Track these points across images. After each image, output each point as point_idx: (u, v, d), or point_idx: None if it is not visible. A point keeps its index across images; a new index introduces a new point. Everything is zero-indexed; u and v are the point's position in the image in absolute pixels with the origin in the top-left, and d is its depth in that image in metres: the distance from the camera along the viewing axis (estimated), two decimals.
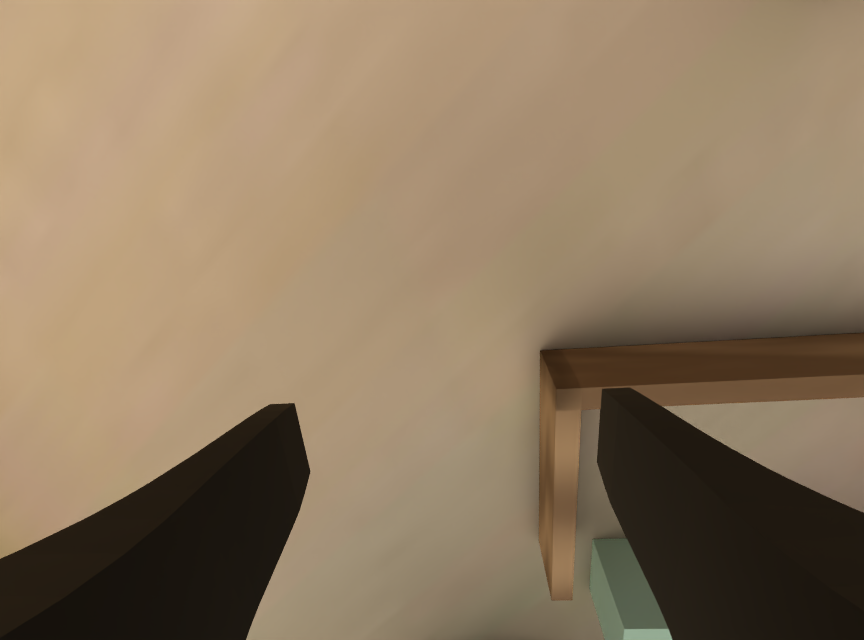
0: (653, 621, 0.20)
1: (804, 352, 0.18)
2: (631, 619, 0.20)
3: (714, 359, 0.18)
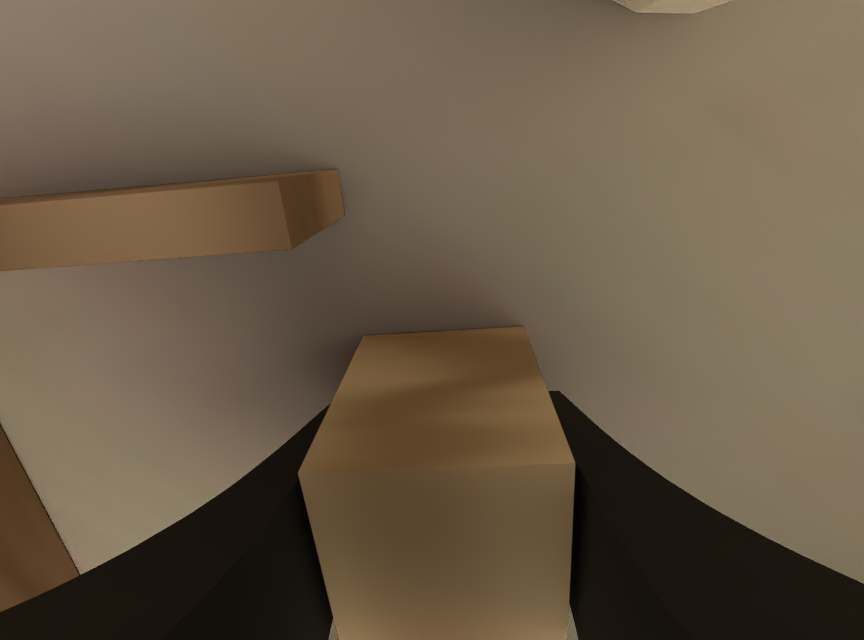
0: None
1: None
2: None
3: None
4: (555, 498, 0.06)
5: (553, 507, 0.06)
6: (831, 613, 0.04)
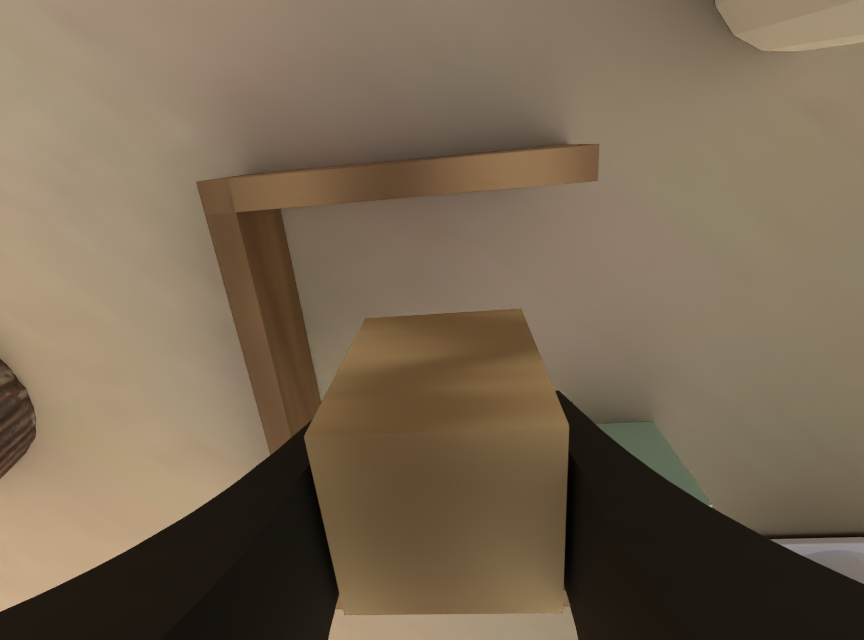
0: None
1: None
2: None
3: None
4: (550, 460, 0.07)
5: (549, 470, 0.07)
6: (831, 612, 0.04)
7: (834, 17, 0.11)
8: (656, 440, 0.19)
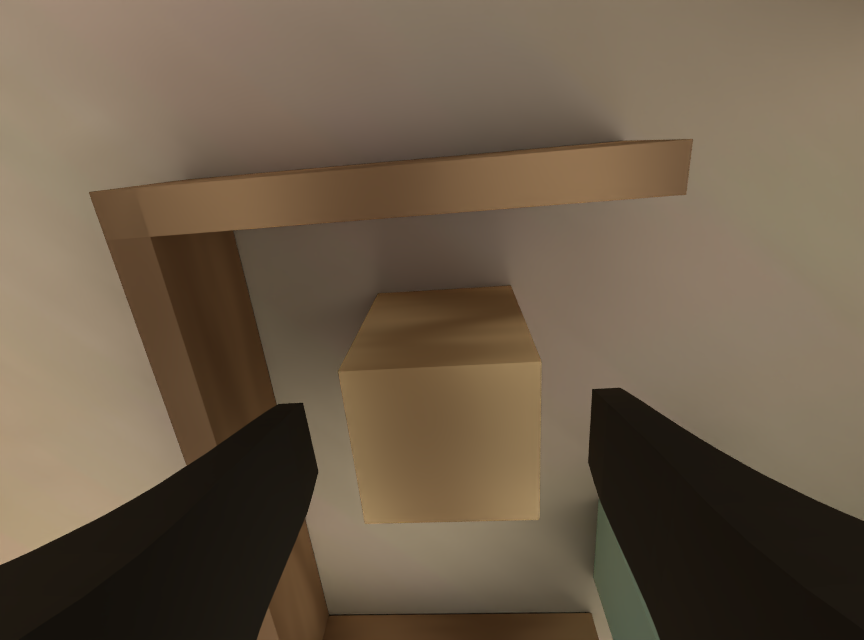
0: None
1: None
2: None
3: None
4: (527, 390, 0.09)
5: (526, 398, 0.09)
6: None
7: None
8: None
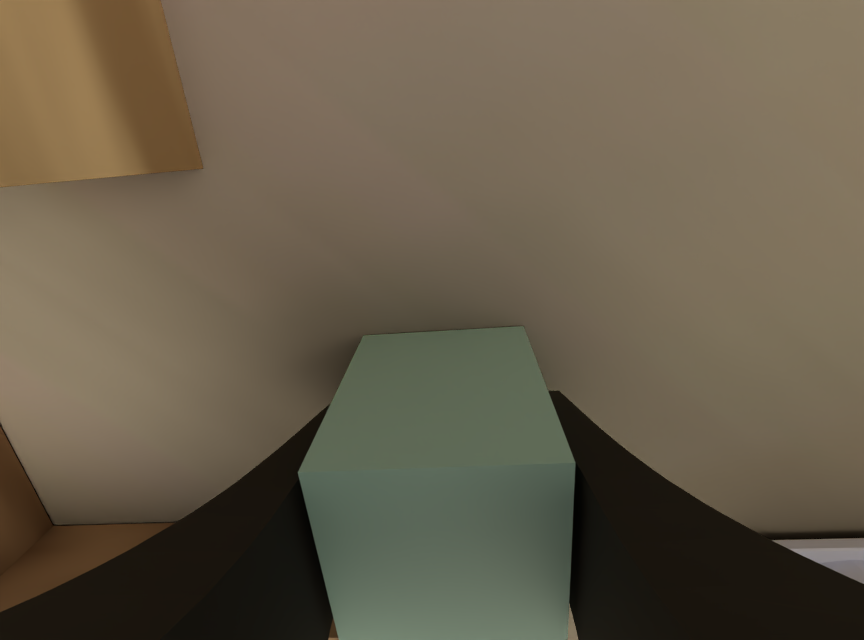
0: None
1: None
2: None
3: None
4: None
5: None
6: (831, 613, 0.04)
7: None
8: (514, 351, 0.10)
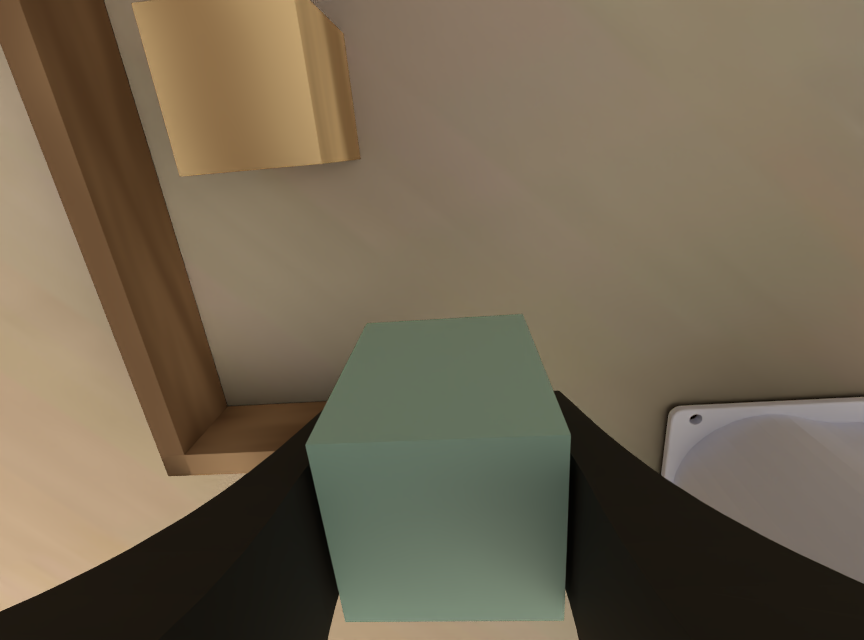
0: None
1: None
2: None
3: None
4: (286, 15, 0.10)
5: (287, 24, 0.11)
6: (832, 613, 0.04)
7: None
8: (513, 337, 0.10)
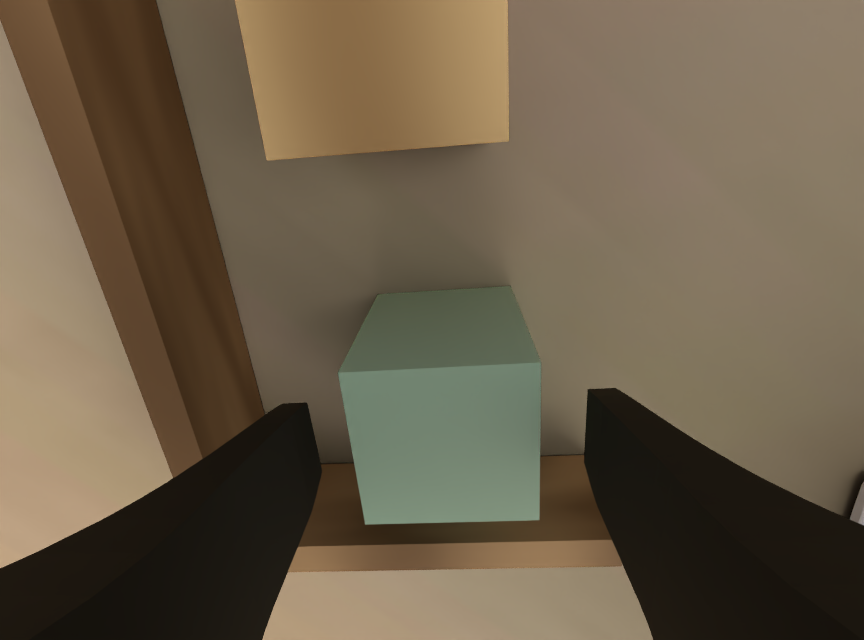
0: None
1: None
2: None
3: None
4: None
5: None
6: None
7: None
8: (501, 302, 0.12)
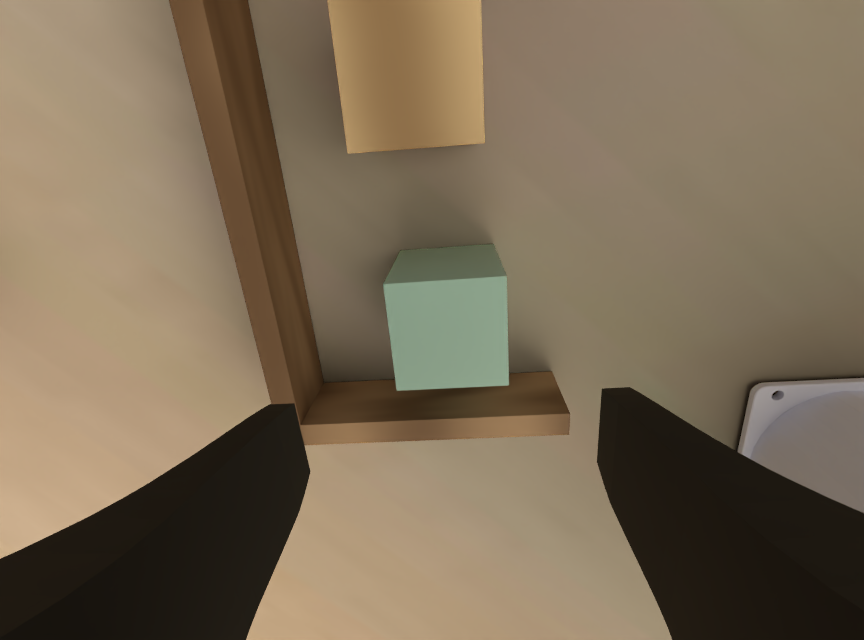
0: None
1: None
2: None
3: None
4: (470, 3, 0.11)
5: (470, 11, 0.11)
6: None
7: None
8: (486, 251, 0.17)
